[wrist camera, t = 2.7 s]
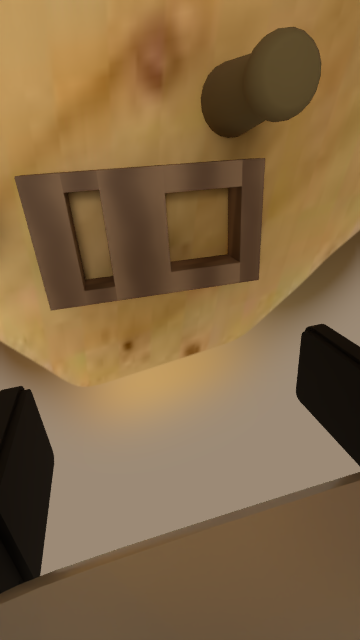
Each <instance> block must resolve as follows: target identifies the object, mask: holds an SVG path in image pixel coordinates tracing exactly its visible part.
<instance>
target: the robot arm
mask: <svg viewBox="0 0 360 640" xmlns="http://www.w3.org/2000/svg"><path fill="white" fill-rule="evenodd" d="M296 395H297V397H298V399H299V401H300V402H301V403H302V404H303V405H304V406H305V407H306V408H307V409H308V410H309V412H310V413H311V414H312V415H313V416H314V417H315V418H316V419H317V420H318V421H319V422H320V424H321V425H322V426H323V427H324V428H325V429H326V430H327V431H328V432H329V433H330V434H331V435H332V437H333V438H334V439H335V440H336V441H337V442H338V443H339V444H340V445H341V446H342V447H343V448H344V449H345V451H346V452H347V453H348V454H349V455H350V456H351V457H352V458H353V459H354V460H355V461H356V463H358V465H359V466H360V347H359V346H358V345H356V344H354V343H353V342H351V341H350V340H348V339H347V338H345V337H344V336H342V335H341V334H339V333H337V332H336V331H334V330H333V329H331V328H330V327H328V326H326V325H324V324H319V325H314V326H309V327H307V328H306V330H305V332H303V333H302V336H301V346H300V355H299V365H298V376H297V385H296ZM53 467H54V455H53V451H52V448H51V445H50V442H49V439H48V436H47V434H46V431H45V428H44V425H43V422H42V420H41V417H40V414H39V411H38V408H37V406H36V403H35V400H34V397H33V394H32V392H31V390H30V389H28V390H24V388H23V387H22V386H19V387H14V388H9V389H4V390H1V391H0V640H360V472H358V473H355V474H352V475H349V476H346V477H343V478H339V479H336V480H333V481H329V482H326V483H323V484H320V485H317V486H313V487H310V488H307V489H304V490H301V491H298V492H294V493H291V494H288V495H285V496H282V497H279V498H275V499H272V500H269V501H266V502H263V503H259V504H256V505H253V506H250V507H247V508H244V509H241V510H237V511H234V512H231V513H228V514H225V515H222V516H219V517H215V518H213V519H209V520H206V521H203V522H200V523H197V524H194V525H191V526H188V527H185V528H181V529H178V530H175V531H172V532H169V533H166V534H163V535H160V536H157V537H154V538H151V539H147V540H144V541H141V542H138V543H135V544H132V545H129V546H126V547H123V548H120V549H117V550H114V551H111V552H108V553H105V554H102V555H99V556H96V557H93V558H90V559H88V560H84V561H81V562H79V563H76V564H73V565H70V566H67V567H64V568H61V569H58V570H55V571H53V572H50V573H48V574H45V575H43V576H40V572H41V564H42V556H43V548H44V540H45V532H46V524H47V516H48V508H49V500H50V492H51V483H52V476H53Z"/></svg>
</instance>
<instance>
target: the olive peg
mask: <svg viewBox="0 0 360 640" xmlns="http://www.w3.org/2000/svg"><path fill="white" fill-rule="evenodd" d="M320 76H321V59H320V53H319V50H318V48H317V46H316V44H315V42H314V40H313V39H312V38H311V37H310V36H309V35H308V34H307V33H306V32H305V31H304V30H301V29H298V28H296V27H288V28H279V29H277V30H275V31H273V32H271V33H269V34H268V35H266V36H265V37H264V38H263V39H262V40H261V41H260V42H259V43H258V44H257V45H256V47H255V48H254V49H253V51H252V53H251V54H248V55H245V56H242V57H239V58H236V59H233V60H230V61H227V62H224V63H222V64H220V65H219V66H217V67H215V68H214V70H213V71H212V72H211V73H210V74H209V75H208V77H207V79H206V81H205V83H204V86H203V90H202V96H201V105H202V113H203V115H204V118H205V121H206V123H207V124H208V125H209V127H210V128H211V129H212V131H214V132H215V133H217V134H218V135H220V136H223V137H227V138H231V137H238V136H239V135H241V134H243V133H245V132H247V131H248V130H250V129H252V128H253V127H255V126H257V125H258V124H260V123H262V122H263V121H265V120H267V121H271V122H279V121H285V120H289V119H290V118H292V117H294V116H296V115H298V114H299V113H300V112H301V111H302V110H303V109H304V108H305V107H306V106H307V105H308V104H309V103H310V101H311V99H312V98H313V96H314V94H315V92H316V90H317V86H318V83H319V79H320Z"/></svg>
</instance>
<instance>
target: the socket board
mask: <svg viewBox="0 0 360 640" xmlns="http://www.w3.org/2000/svg"><path fill="white" fill-rule="evenodd" d="M264 170H265V158H257V159H239V160H226V161H212V162H198V163H184V164H171V165H157V166H143V167H130V168H116V169H102V170H88V171H75V172H61V173H47V174H34V175H21V176H15V181H16V185H17V188H18V192H19V196H20V199H21V203H22V207H23V210H24V214H25V218H26V221H27V225H28V229H29V232H30V236H31V240H32V243H33V247H34V250H35V254H36V258H37V261H38V265H39V269H40V272H41V276H42V280H43V283H44V287H45V291H46V294H47V298H48V302H49V305H50V309H51V310H57V309H64V308H71V307H78V306H85V305H91V304H98V303H105V302H112V301H119V300H125V299H132V298H139V297H146V296H152V295H159V294H166V293H173V292H180V291H186V290H193V289H200V288H207V287H214V286H220V285H227V284H234V283H241V282H248V281H254V280H259V264H260V245H261V226H262V208H263V189H264ZM228 187H229V190H228V255H220V256H212V257H205V258H197V259H189V260H181V261H174V262H170V252H169V239H168V227H167V214H166V201H165V193H172V192H183V191H194V190H206V189H217V188H228ZM89 190H99V191H100V197H101V203H102V209H103V215H104V222H105V228H106V234H107V240H108V246H109V252H110V258H111V264H112V270H113V276H110V277H102V278H95V279H87V280H85V275H84V270H83V265H82V261H81V256H80V251H79V246H78V242H77V237H76V232H75V227H74V222H73V218H72V213H71V208H70V203H69V198H68V194H67V192H77V191H89Z"/></svg>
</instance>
